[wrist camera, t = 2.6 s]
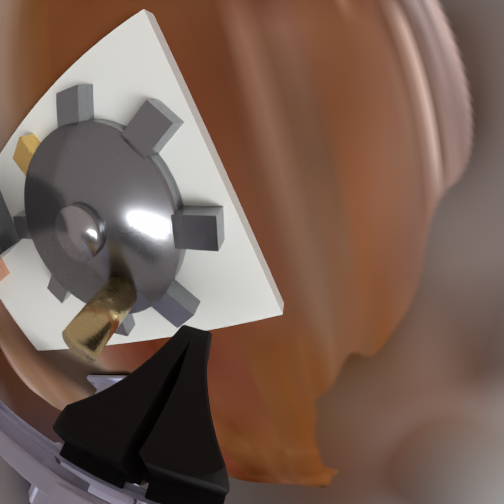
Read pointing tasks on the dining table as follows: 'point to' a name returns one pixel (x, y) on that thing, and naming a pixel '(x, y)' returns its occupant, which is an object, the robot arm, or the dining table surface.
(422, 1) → the dining table surface
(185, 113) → the board
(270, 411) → the dining table surface
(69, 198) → the sprocket
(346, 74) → the dining table surface
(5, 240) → the grey rectangular block
